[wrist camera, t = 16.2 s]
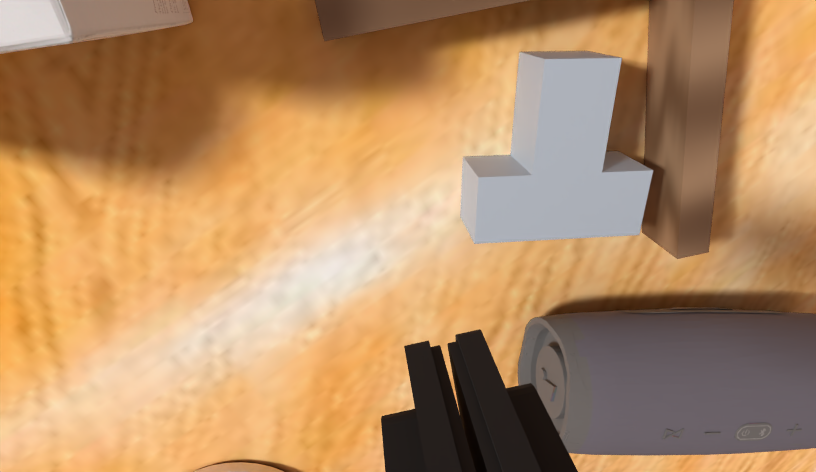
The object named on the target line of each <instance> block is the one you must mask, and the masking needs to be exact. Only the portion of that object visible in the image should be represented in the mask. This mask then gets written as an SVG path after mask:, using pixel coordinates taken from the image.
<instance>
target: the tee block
mask: <svg viewBox="0 0 816 472" xmlns="http://www.w3.org/2000/svg"><path fill="white" fill-rule="evenodd" d="M621 60H622V58H620V57H615V56H610V55H605V54H600V53H595V52H590V51H547V52H519V63H518V75H517V86H516V97H515V109H514V120H513V132H512V143H511V155H494V156H466V157H463V166H462V190H461V214H460V217H461V219H462V221H463V223H464V225H465V227H466V229H467V230H468V232H469V234H470V236H471V238H472V240H473V242H474V244H479V243H497V242H516V241H535V240H553V239H572V238H591V237H609V236H628V235H639V233H640V229H641V224H642V220H643V215H644V210H645V206H646V201H647V197H648V192H649V188H650V183H651V178H652V174H653V170H652V169H650V168H648V167H646V166H644V165H643V164H641V163H639V162H637V161H635V160H633V159H632V158H630V157H628V156H626V155H624V154H623V153H621V152H619V151H606V147H607V141H608V135H609V130H610V124H611V118H612V112H613V106H614V101H615V95H616V89H617V83H618V77H619V72H620V66H621Z"/></svg>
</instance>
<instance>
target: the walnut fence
mask: <svg viewBox="0 0 816 472" xmlns="http://www.w3.org/2000/svg"><path fill="white" fill-rule="evenodd" d="M523 1H528V0H315V3H316V8H317V12H318V16H319V20H320V25H321V29H322V33H323V37H324V41H328V40H333V39H338V38H343V37H348V36H353V35H358V34H363V33H368V32H373V31H378V30H383V29H388V28H393V27H398V26H403V25H408V24H413V23H418V22H423V21H428V20H433V19H438V18H443V17H448V16H453V15H458V14H463V13H468V12H473V11H478V10H483V9H488V8H493V7H498V6H503V5H508V4H513V3H518V2H523ZM733 2H734V0H650V1H649V32H648V63H647V94H646V126H645V157H644V166H646V167H648V168H650V169H652V170H653V174H652V178H651V183H650V188H649V192H648V197H647V201H646V206H645V210H644V215H643V220H642V233H644V234H645V235H646V236H648V237H649V238H650V239H652V240H653V241H654V242H656V243H657V244H658V245H659V246H661V247H662V248H663V249H665V250H666V251H667V252H669V253H670V254H671V255H673V256H674V257H675V258H677V259H679V258H684V257H689V256H693V255H698V254H703V253H707V252H709V243H710V233H711V223H712V213H713V203H714V193H715V183H716V173H717V163H718V153H719V143H720V133H721V123H722V113H723V103H724V93H725V83H726V73H727V62H728V52H729V42H730V32H731V22H732V12H733Z"/></svg>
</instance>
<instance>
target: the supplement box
mask: <svg viewBox="0 0 816 472" xmlns="http://www.w3.org/2000/svg"><path fill="white" fill-rule="evenodd" d="M191 22H193V17H192V14H191V11H190V7H189V4H188V0H0V54H3V53H9V52H16V51H23V50H29V49H36V48H43V47H50V46H57V45H64V44H71V43H77V42H84V41H91V40H98V39H104V38H110V37H117V36H123V35H129V34H135V33H141V32H147V31H153V30H158V29H164V28H170V27H175V26H181V25H186V24H189V23H191Z"/></svg>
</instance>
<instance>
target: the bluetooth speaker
mask: <svg viewBox="0 0 816 472" xmlns="http://www.w3.org/2000/svg"><path fill="white" fill-rule="evenodd" d="M529 383H531V384H533V385H534V387H535V389H536V390H537V392H538V394H539V396H540V398H541V400H542V402H543V404H544V406H545V408H546V410H547V412H548V414H549V416H550V418H551V420H552V422H553V424H554V426H555V428H556V430H557V432H558V434H559V436H560V438H561V440H562V442H563V443H564V445H565V447H566V449H567V451H568V453H576V454H591V455H709V454H735V453H753V452H768V451H784V450H797V449H809V448H816V314H811V313H791V312H778V311H759V310H732V309H724V308H664V309H651V310H616V311H603V312H581V313H567V314H557V315H549V316H542V317H536V318H533V319H531V320H530V321H529V322H528V324H527V326H526V328H525V334H524V339H523V344H522V349H521V353H520V357H519V362H518V384H519V386H520V385H524V384H529Z"/></svg>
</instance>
